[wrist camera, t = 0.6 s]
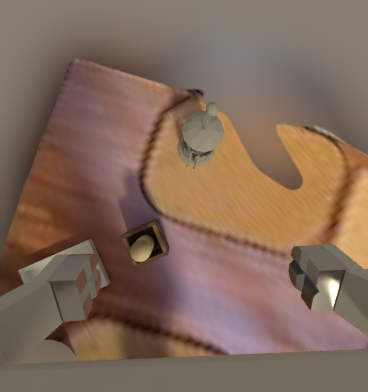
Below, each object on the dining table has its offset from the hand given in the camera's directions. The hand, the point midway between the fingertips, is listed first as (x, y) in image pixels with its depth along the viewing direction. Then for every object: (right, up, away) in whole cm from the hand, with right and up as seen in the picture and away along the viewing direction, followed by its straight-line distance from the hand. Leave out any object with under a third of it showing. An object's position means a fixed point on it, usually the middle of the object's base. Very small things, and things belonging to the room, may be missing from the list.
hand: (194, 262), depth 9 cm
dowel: (-9, -8, +45) cm, 47 cm away
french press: (+2, +14, +47) cm, 49 cm away
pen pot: (-10, -8, +46) cm, 47 cm away
